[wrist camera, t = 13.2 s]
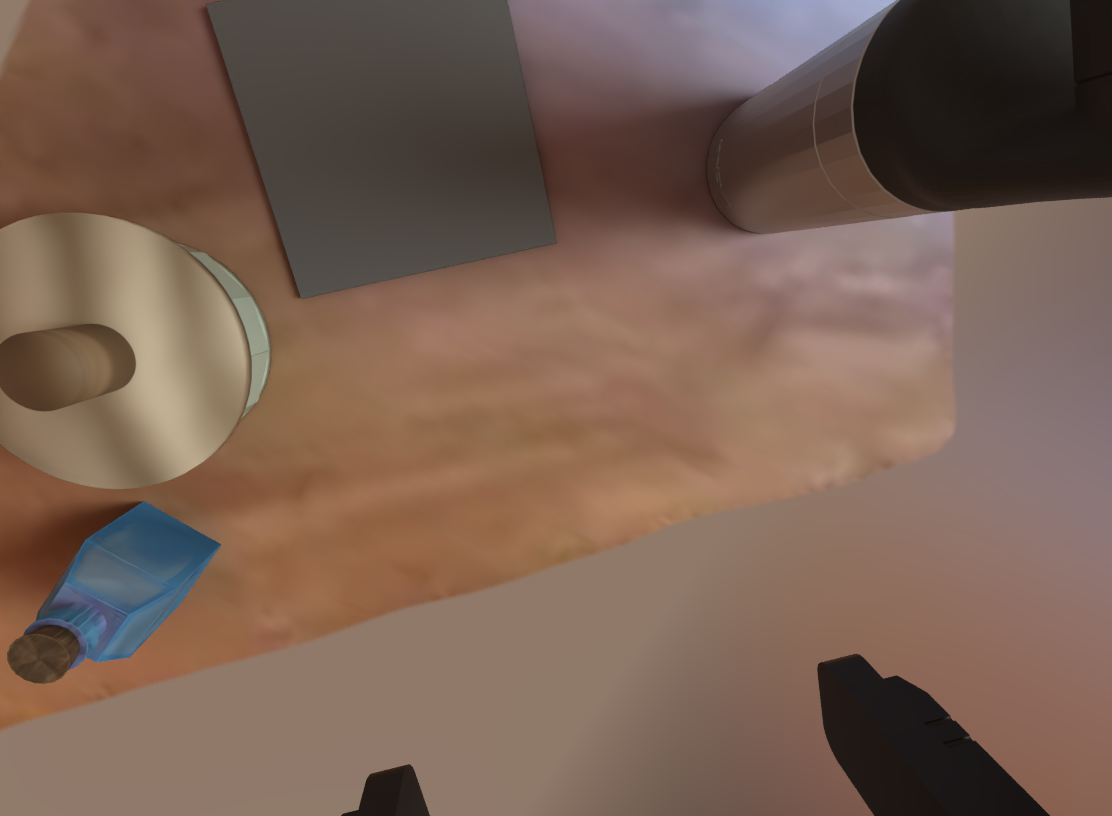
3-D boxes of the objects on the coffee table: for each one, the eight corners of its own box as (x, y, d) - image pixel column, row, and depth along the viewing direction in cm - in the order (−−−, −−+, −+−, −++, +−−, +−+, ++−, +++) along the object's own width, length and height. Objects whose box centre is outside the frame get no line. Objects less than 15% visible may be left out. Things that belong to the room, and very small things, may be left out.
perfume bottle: (179, 604, 44) (65, 724, 33) (102, 564, 43) (-45, 673, 31) (221, 544, 44) (120, 645, 32) (144, 500, 42) (9, 589, 31)
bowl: (230, 218, 38) (182, 210, 32) (298, 416, 42) (265, 440, 36) (18, 263, 38) (-70, 263, 32) (105, 460, 41) (40, 491, 35)
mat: (496, -49, 36) (496, -54, 35) (555, 243, 41) (556, 242, 40) (210, 8, 35) (205, 3, 35) (303, 298, 40) (301, 298, 39)
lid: (194, 186, 32) (133, 170, 27) (288, 449, 36) (252, 481, 31) (-96, 248, 32) (-217, 244, 26) (33, 509, 36) (-49, 552, 30)
